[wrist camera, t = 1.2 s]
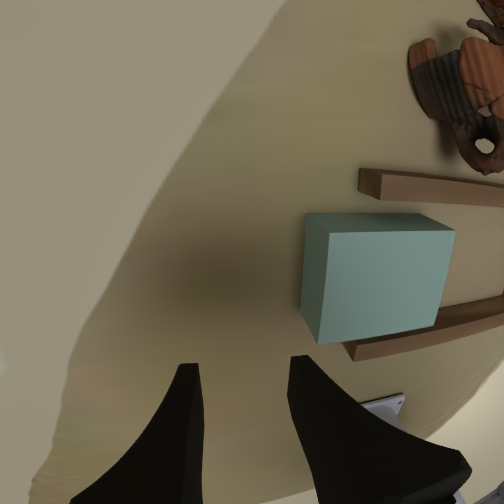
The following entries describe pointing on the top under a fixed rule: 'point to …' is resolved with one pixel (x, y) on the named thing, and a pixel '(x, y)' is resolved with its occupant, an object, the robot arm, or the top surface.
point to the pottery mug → (466, 92)
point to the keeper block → (372, 273)
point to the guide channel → (448, 318)
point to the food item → (494, 10)
